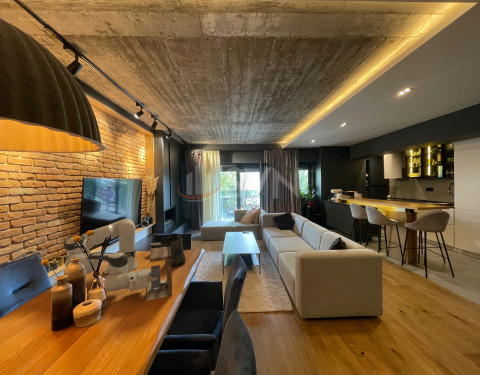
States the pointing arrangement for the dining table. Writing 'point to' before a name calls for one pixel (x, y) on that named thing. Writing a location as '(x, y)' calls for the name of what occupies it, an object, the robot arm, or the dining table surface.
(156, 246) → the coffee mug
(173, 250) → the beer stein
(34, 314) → the dining table surface
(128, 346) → the dining table surface
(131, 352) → the dining table surface
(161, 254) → the overhang shelf
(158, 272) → the grey upright block
